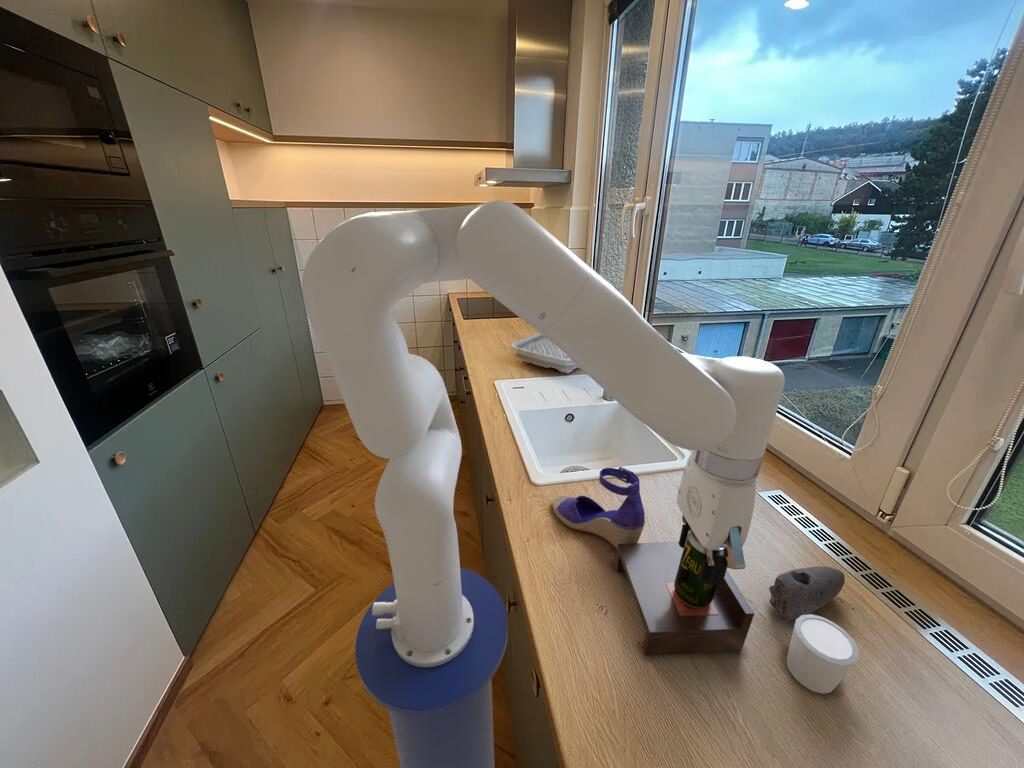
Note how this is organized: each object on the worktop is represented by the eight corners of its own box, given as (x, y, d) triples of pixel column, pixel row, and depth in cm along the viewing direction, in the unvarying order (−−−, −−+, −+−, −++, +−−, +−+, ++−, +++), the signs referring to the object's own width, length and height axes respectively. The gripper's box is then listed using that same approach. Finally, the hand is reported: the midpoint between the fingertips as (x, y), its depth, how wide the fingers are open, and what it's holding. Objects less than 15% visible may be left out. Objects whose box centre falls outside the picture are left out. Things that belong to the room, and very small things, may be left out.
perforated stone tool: (821, 579, 70) (834, 548, 67) (852, 605, 65) (868, 573, 63) (752, 603, 66) (763, 571, 63) (781, 633, 61) (794, 600, 58)
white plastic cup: (779, 638, 60) (792, 605, 58) (836, 660, 58) (853, 627, 55) (782, 682, 55) (797, 648, 52) (845, 709, 52) (865, 675, 49)
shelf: (645, 656, 58) (652, 617, 55) (614, 564, 73) (619, 530, 70) (741, 651, 59) (754, 613, 55) (692, 562, 73) (700, 527, 70)
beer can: (685, 572, 65) (701, 515, 59) (718, 596, 61) (739, 537, 56) (666, 591, 62) (681, 532, 56) (700, 618, 58) (719, 558, 52)
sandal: (574, 493, 91) (579, 435, 84) (646, 552, 75) (658, 486, 69) (545, 507, 86) (548, 447, 80) (614, 572, 71) (624, 504, 65)
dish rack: (504, 362, 166) (504, 343, 162) (556, 340, 191) (557, 324, 188) (570, 382, 147) (572, 361, 144) (618, 355, 172) (620, 337, 169)
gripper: (669, 422, 58) (651, 521, 66) (733, 503, 43) (701, 620, 50) (720, 421, 59) (697, 519, 66) (803, 501, 43) (761, 618, 50)
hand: (699, 562), depth 58 cm, fingers closed on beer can, 5 cm apart
